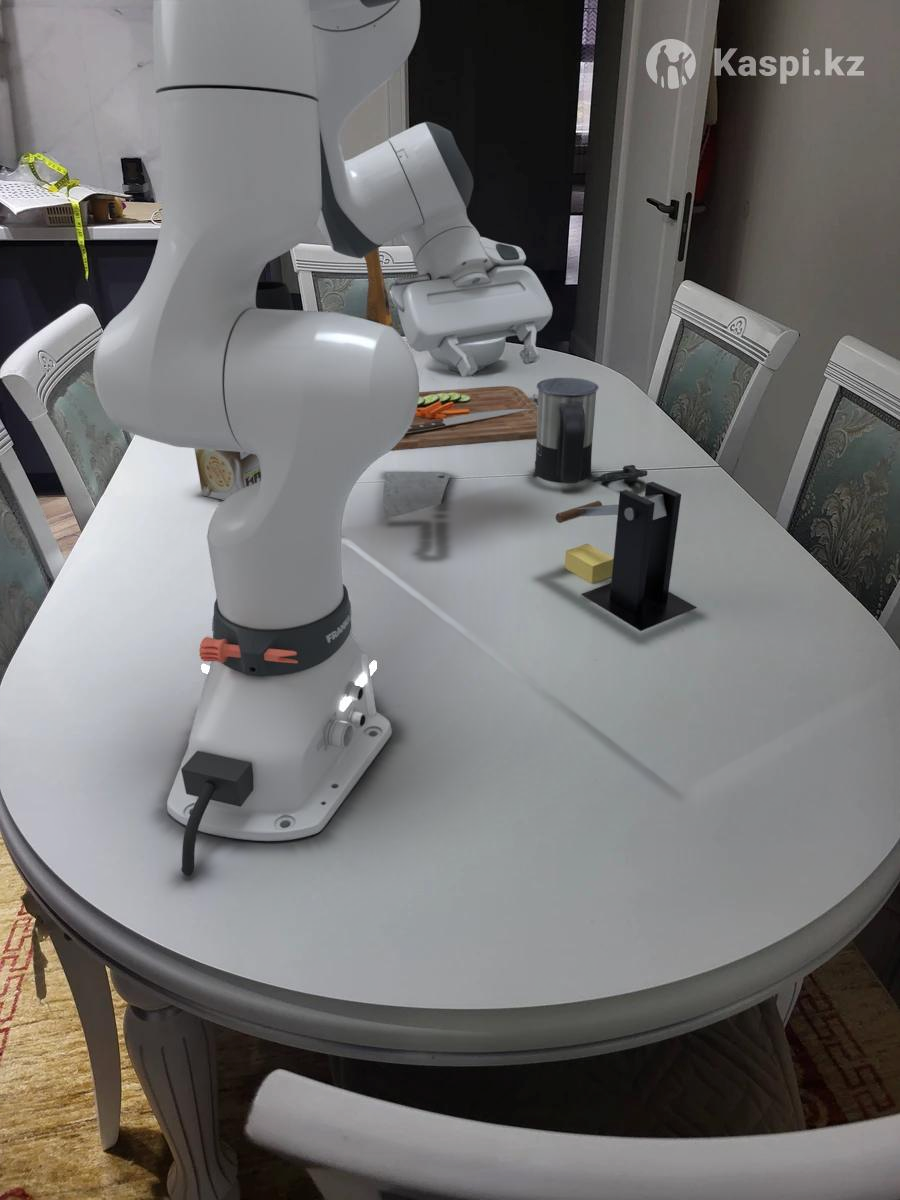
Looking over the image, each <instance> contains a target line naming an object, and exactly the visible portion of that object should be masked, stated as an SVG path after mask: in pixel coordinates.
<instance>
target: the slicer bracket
mask: <svg viewBox="0 0 900 1200" xmlns="http://www.w3.org/2000/svg"><path fill="white" fill-rule="evenodd" d="M660 494H663V498H664V503H665V509H666V514H667V515H666V516H664V517H661V518H658V519H655V520H653V514H654V506H655V503H654V502H652V501H650V500H648V499H645V498H643V497H642V496H641V495H639V494H637V493H635V492H633V491H631V490H628V489H624V490H621V491H619V497H618V504H619V506H618V515H617V517H616V529H615V537H614V538H615V539H614V550H613V558H614V559H613V569H612V577H611V582H610V583H606V584H604V585H601V586H599V587H596V588H594V589H591V590H588V591H586V592H585V591H584V592H583V593H580V595H581V596H582V597H584V598H585V599H588V600H589V601H591V602H592V603H594V604H596V605H597V606H598V607H600V608H602V609H604V610H605V611H607V612H609V613H610V614H612V615H614V616H615V617H617V618H618V619H620V620H622V621H623V622H624V623H626V624H628V625H630V626H631V627H633V628H635V629H636V630H638V631H640V632H642V631H644V630H645V631H646V630H647V629H649V628H652V627H655V626H657V625H659V624H662V623H664V622H666V621H669V620H672V619H673V618H676V617H678V616H681V615H684V614H685V613H686V614H687V613H688V612H690V611H693V610H695V609H697V608H698V607H697V606H696V605H694V604H692V603H690V602H688V600H687V601H686V600H685V599H683V598H681V597H679V596H678V595H676V594H674V593H672V592H670V584H671V582H670V581H671V577H672V576H671V575H672V568H673V562H674V561H673V560H674V552H675V546H676V545H675V544H676V540H677V539H676V538H677V530H678V523H679V516H680V507H681V500H682V493H680V492H677V491H675V490H672V489H670V488H668V487H666V486H664V485H662V484H659V483H656V482H655V481H649V482H646V484H645V492H644V496H647V495H660Z"/></svg>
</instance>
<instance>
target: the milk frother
mask: <svg viewBox="0 0 900 1200" xmlns="http://www.w3.org/2000/svg"><path fill="white" fill-rule="evenodd" d="M599 388H600V386H599V385H598V384H597V383H596V382H594V381H592V380H588V379H584V378H579V377H552V378H546V379H542V380H540V381H539V382H537V383H536V389H537V395H538V401H537V407H538V412H537V438H536V443H535V461H534V471H533V474H532V478H537V477H538V478H539V479H542V480H544V481H546V482H547V481H548V482H553V483H561V484H578V483H579V482H582V481H585V480H589V481H591V482H605V481H606V482H607V481H608V482H609V481H623V480H624V482H625V483H634V482H636V481H637V480H638V479H639V478H643V477H646V476H648V470H647V469H646V470H645V469H637V468H636V466H635V464H629V465H624V466H623V467H622V470H617V471H610V472H605V473H602V474H601V475H599V476H595V477H593V475H592V455H593V440H594V439H593V438H594V427H595V413H596V402H597V392H598V390H599Z"/></svg>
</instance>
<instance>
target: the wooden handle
mask: <svg viewBox="0 0 900 1200" xmlns="http://www.w3.org/2000/svg"><path fill="white" fill-rule="evenodd" d="M363 258H364V260H365V264H366V270H367V280H368V281H367V283H368V286H367V287H368V288H367V295H366V313H365V315H366V316H365V317H366V318H365V319H366V320H369V321H373V322H376V323H380V324H383V325H386V326H390V327H392V328H394V325H393V319H392V313H391V307H390V301H389V296H388V292H387V287H386V282H385V278H384V274H383V270H382V264H381V258H380V247H379V248H377V249H376V250H374V251H373V252H371V253H369V254H368V255H366V256H364V257H363Z"/></svg>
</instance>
